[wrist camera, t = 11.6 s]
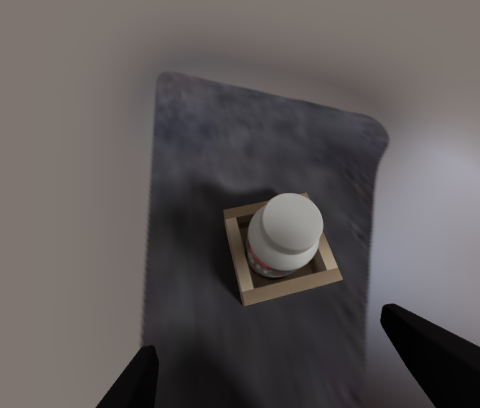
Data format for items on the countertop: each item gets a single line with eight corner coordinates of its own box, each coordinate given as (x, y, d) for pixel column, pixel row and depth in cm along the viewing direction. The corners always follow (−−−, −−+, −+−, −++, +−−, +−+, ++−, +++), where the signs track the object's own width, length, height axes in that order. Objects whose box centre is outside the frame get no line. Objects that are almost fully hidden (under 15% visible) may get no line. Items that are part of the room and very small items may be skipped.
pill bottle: (238, 273, 22) (241, 247, 13) (251, 224, 24) (261, 174, 16) (291, 288, 22) (331, 272, 13) (300, 237, 24) (338, 193, 15)
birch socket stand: (325, 284, 22) (342, 279, 19) (242, 306, 21) (244, 305, 18) (296, 209, 26) (306, 192, 22) (224, 224, 25) (223, 209, 21)
